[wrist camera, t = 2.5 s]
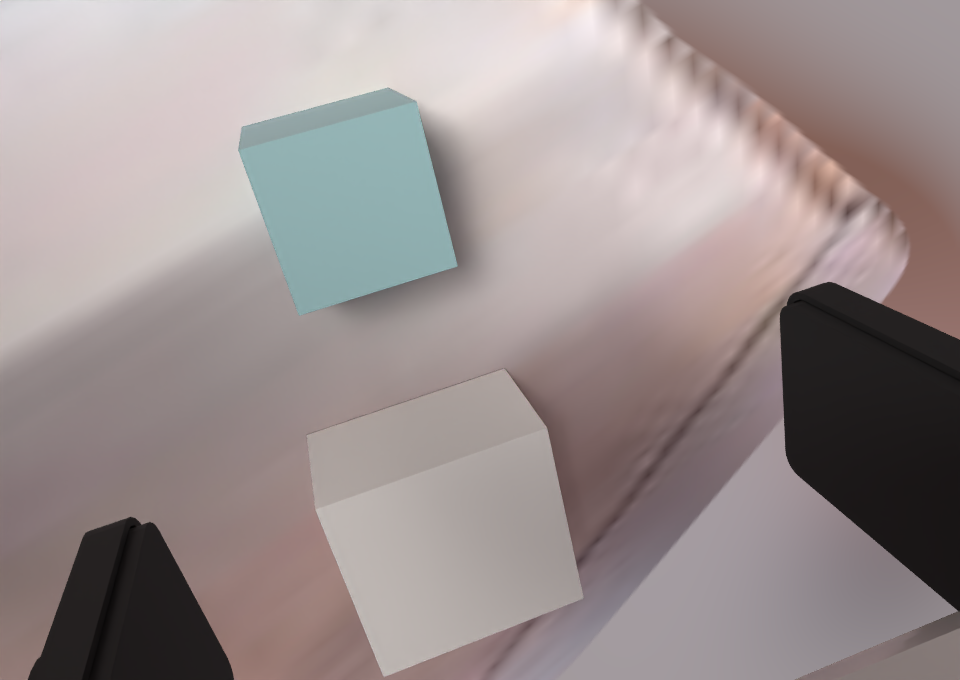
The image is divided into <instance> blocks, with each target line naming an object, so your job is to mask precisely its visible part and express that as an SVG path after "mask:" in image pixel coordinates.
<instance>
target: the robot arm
mask: <svg viewBox="0 0 960 680" xmlns="http://www.w3.org/2000/svg"><path fill="white" fill-rule="evenodd" d="M780 333H781V356H782V380H783V403H784V426H785V449H786V456H787V459H788V462H789V464H790V466H791V468H792V469H793V470H794V472H795V473H796V474H797V475H798V476H799V477H800V478H802V479H803V480H804V481H805V482H806V483H808V484H809V485H810V486H811V487H812V488H813V489H815V490H816V491H817V492H818V493H819V494H820V495H822V496H823V497H824V498H825V499H827V500H828V501H829V502H830V503H831V504H832V505H834V506H835V507H836V508H837V509H838V510H839V511H841V512H842V513H843V514H844V515H845V516H847V517H848V518H849V519H850V520H851V521H853V522H854V523H855V524H856V525H857V526H858V527H860V528H861V529H862V530H863V531H864V532H865V533H867V534H868V535H869V536H870V537H871V538H873V539H874V540H875V541H876V542H877V543H878V544H880V545H881V546H882V547H883V548H884V549H886V550H887V551H888V552H889V553H890V554H892V555H893V556H894V557H895V558H896V559H897V560H899V561H900V562H901V563H902V564H903V565H905V566H906V567H907V568H908V569H909V570H910V571H912V572H913V573H914V574H915V575H916V576H918V577H919V578H920V579H921V580H922V581H924V582H925V583H926V584H927V585H928V586H929V587H931V588H932V589H933V590H934V591H935V592H936V593H938V594H939V595H940V596H941V597H942V598H944V599H945V600H946V601H947V602H948V603H949V604H951V605H952V606H953V607H954V608H955V609H957V610H958V612H956V613H953V614H951V615H948V616H946V617H944V618H941V619H939V620H936V621H934V622H932V623H929V624H927V625H924V626H922V627H920V628H918V629H915V630H912V631H910V632H908V633H905V634H903V635H900V636H898V637H896V638H893V639H891V640H889V641H886V642H884V643H881V644H879V645H877V646H874V647H872V648H869V649H867V650H864V651H862V652H860V653H857V654H855V655H853V656H850V657H848V658H845V659H843V660H841V661H838V662H836V663H833V664H831V665H829V666H826V667H824V668H821V669H819V670H817V671H814V672H812V673H810V674H808V675H805V676H803V677H800V678H798V679H795V680H960V340H959V339H957V338H955V337H952V336H950V335H948V334H946V333H944V332H941V331H939V330H937V329H935V328H933V327H930V326H928V325H926V324H924V323H921V322H919V321H917V320H915V319H913V318H911V317H908V316H906V315H904V314H902V313H900V312H897V311H895V310H893V309H891V308H889V307H886V306H884V305H882V304H880V303H877V302H875V301H873V300H871V299H869V298H866V297H864V296H862V295H860V294H858V293H855V292H853V291H851V290H849V289H847V288H844V287H842V286H840V285H838V284H836V283H832V282H827V283H823V284H820V285H817V286H814V287H811V288H808V289H805V290H802V291H799V292H796V293H793V294H792V295H791V296H790V297H789V299H788V302H787V306H785V307H784V308H782V310H781V313H780ZM28 680H234V678H233V673H232V669H231V665H230V663H229V660H228V658H227V656H226V654H225V653H224V651H223V649H222V647H221V645H220V643H219V641H218V639H217V638H216V636H215V634H214V632H213V630H212V628H211V626H210V625H209V623H208V621H207V619H206V617H205V615H204V613H203V612H202V610H201V608H200V606H199V604H198V602H197V600H196V598H195V597H194V595H193V593H192V591H191V589H190V587H189V585H188V584H187V582H186V580H185V578H184V576H183V574H182V572H181V571H180V569H179V567H178V565H177V563H176V561H175V559H174V557H173V556H172V554H171V552H170V550H169V548H168V546H167V544H166V543H165V541H164V539H163V537H162V535H161V533H160V531H159V530H158V528H157V527H156V525H155V524H153V523H151V522H149V523H146V524H143V525H141V524H140V522H139V521H138V520H137V519H136V518H133V517H129V518H126V519H123V520H120V521H118V522H115V523H112V524H109V525H106V526H103V527H100V528H97V529H94V530H91V531H89V532H87V533H85V535H84V537H83V539H82V542H81V544H80V547H79V550H78V553H77V556H76V558H75V561H74V564H73V567H72V570H71V573H70V575H69V578H68V581H67V584H66V587H65V590H64V592H63V595H62V598H61V601H60V604H59V607H58V609H57V612H56V615H55V618H54V621H53V624H52V626H51V629H50V632H49V635H48V638H47V641H46V643H45V646H44V649H43V652H42V655H41V657H40V658H38V659H37V661H36V662H35V664H34V666H33V668H32V670H31V672H30V675H29V678H28Z"/></svg>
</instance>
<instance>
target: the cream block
mask: <svg viewBox="0 0 960 680" xmlns="http://www.w3.org/2000/svg"><path fill="white" fill-rule="evenodd" d="M306 436H307V444H308V453H309V461H310V470H311V478H312V487H313V495H314V504H315V510H316V513H317V515H318V518H319V520H320V523H321V525H322V528H323V530H324V532H325V535H326V537H327V540H328V542H329V545H330V547H331V550H332V552H333V554H334V557H335V559H336V562H337V564H338V567H339V569H340V572H341V574H342V576H343V579H344V581H345V584H346V586H347V589H348V591H349V594H350V596H351V598H352V601H353V603H354V606H355V608H356V611H357V613H358V616H359V618H360V620H361V623H362V625H363V628H364V630H365V633H366V635H367V638H368V640H369V642H370V645H371V647H372V650H373V652H374V655H375V657H376V660H377V662H378V665H379V667H380V669H381V672H382V674H383V677H386V676H388V675H391V674H393V673H396V672H398V671H401V670H404V669H406V668H409V667H411V666H414V665H416V664H419V663H421V662H424V661H426V660H429V659H431V658H434V657H437V656H439V655H442V654H444V653H447V652H449V651H452V650H454V649H457V648H459V647H462V646H464V645H467V644H470V643H472V642H475V641H477V640H480V639H482V638H485V637H487V636H490V635H492V634H495V633H497V632H500V631H503V630H505V629H508V628H510V627H513V626H515V625H518V624H520V623H523V622H525V621H528V620H530V619H533V618H536V617H538V616H541V615H543V614H546V613H548V612H551V611H553V610H556V609H558V608H561V607H563V606H566V605H569V604H571V603H574V602H576V601H579V600H581V599H584V598H583V593H582V588H581V584H580V579H579V574H578V570H577V565H576V560H575V556H574V551H573V546H572V542H571V537H570V532H569V528H568V523H567V518H566V514H565V509H564V504H563V500H562V495H561V490H560V486H559V481H558V476H557V472H556V467H555V462H554V458H553V453H552V448H551V444H550V439H549V434H548V430H547V427H546V426H545V424H544V423H543V421H542V420H541V419H540V417H539V416H538V414H537V413H536V412H535V410H534V409H533V407H532V406H531V405H530V403H529V402H528V400H527V399H526V398H525V396H524V395H523V393H522V392H521V391H520V389H519V388H518V386H517V385H516V384H515V382H514V381H513V379H512V378H511V377H510V375H509V374H508V372H507V371H506V370H505V368H504V369H501V370H498V371H495V372H492V373H489V374H486V375H483V376H480V377H477V378H474V379H472V380H469V381H466V382H463V383H460V384H457V385H454V386H451V387H448V388H445V389H442V390H439V391H436V392H433V393H430V394H427V395H424V396H421V397H418V398H415V399H412V400H409V401H406V402H403V403H400V404H397V405H394V406H391V407H388V408H385V409H382V410H379V411H376V412H374V413H371V414H368V415H365V416H362V417H359V418H356V419H353V420H350V421H347V422H344V423H341V424H338V425H335V426H332V427H329V428H326V429H323V430H320V431H317V432H314V433H311V434H308V435H306Z"/></svg>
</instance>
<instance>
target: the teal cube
mask: <svg viewBox="0 0 960 680" xmlns="http://www.w3.org/2000/svg"><path fill="white" fill-rule="evenodd" d="M238 151H239V153H240V156H241V159H242V161H243V164H244V167H245V170H246V172H247V175H248V178H249V181H250V183H251V186H252V189H253V191H254V194H255V197H256V200H257V202H258V205H259V208H260V211H261V213H262V216H263V219H264V221H265V224H266V227H267V230H268V232H269V235H270V238H271V241H272V243H273V246H274V249H275V251H276V254H277V257H278V260H279V262H280V265H281V268H282V271H283V273H284V276H285V279H286V282H287V284H288V287H289V290H290V292H291V295H292V298H293V301H294V303H295V306H296V309H297V312H298V314H299V316H300V315H303V314H306V313H310V312H313V311H316V310H319V309H322V308H326V307H329V306H332V305H335V304H338V303H342V302H345V301H348V300H351V299H354V298H358V297H361V296H364V295H367V294H370V293H374V292H377V291H380V290H383V289H387V288H390V287H393V286H396V285H399V284H403V283H406V282H409V281H412V280H415V279H419V278H422V277H425V276H428V275H431V274H435V273H438V272H441V271H444V270H448V269H451V268H454V267H457V266H458V265H457V261H456V257H455V253H454V249H453V245H452V241H451V237H450V233H449V229H448V225H447V222H446V218H445V214H444V210H443V206H442V202H441V198H440V194H439V190H438V186H437V182H436V178H435V174H434V170H433V166H432V162H431V158H430V154H429V150H428V146H427V142H426V138H425V134H424V130H423V126H422V122H421V118H420V114H419V110H418V106H417V102H416V101H415V100H412V99H410V98H408V97H406V96H404V95H402V94H400V93H398V92H396V91H394V90H392V89H390V88H385V89H381V90H378V91H374V92H370V93H366V94H363V95H359V96H355V97H352V98H348V99H344V100H340V101H337V102H333V103H329V104H325V105H322V106H318V107H314V108H311V109H307V110H303V111H299V112H296V113H292V114H288V115H285V116H281V117H277V118H273V119H270V120H266V121H262V122H258V123H255V124H251V125H247V126H244V127H242V129H241V136H240V143H239V149H238Z"/></svg>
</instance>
